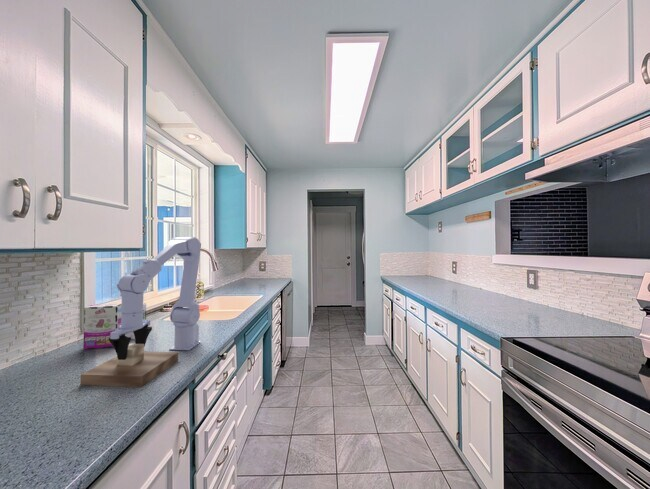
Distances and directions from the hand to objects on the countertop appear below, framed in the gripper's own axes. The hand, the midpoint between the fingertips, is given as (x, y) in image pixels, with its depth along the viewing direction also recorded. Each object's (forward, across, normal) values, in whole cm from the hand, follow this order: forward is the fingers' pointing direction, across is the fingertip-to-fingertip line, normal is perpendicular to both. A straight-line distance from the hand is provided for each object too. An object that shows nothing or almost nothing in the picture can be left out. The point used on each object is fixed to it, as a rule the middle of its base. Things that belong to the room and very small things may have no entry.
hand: (131, 354), depth 87 cm
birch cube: (+2, 0, 0) cm, 3 cm away
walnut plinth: (+6, 0, +1) cm, 6 cm away
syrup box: (+6, -32, -23) cm, 40 cm away
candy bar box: (+6, -20, -27) cm, 34 cm away
